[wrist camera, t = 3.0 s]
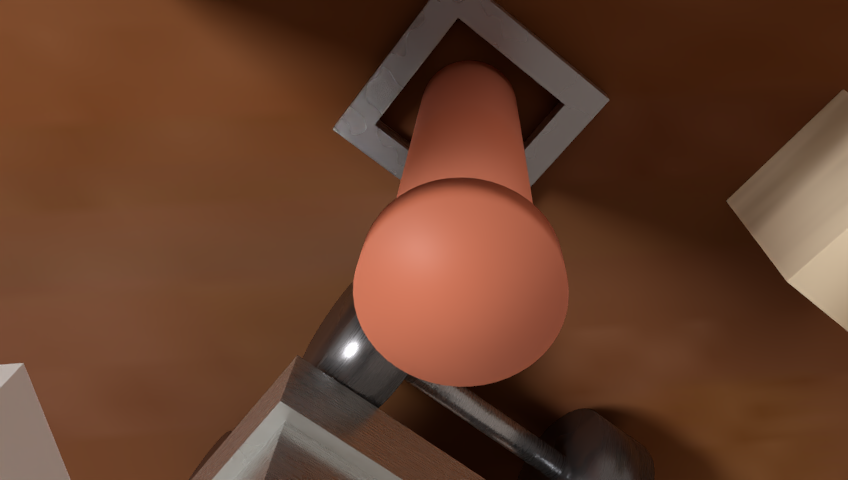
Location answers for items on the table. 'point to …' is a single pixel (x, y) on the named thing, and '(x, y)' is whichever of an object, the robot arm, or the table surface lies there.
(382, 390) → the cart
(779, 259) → the block
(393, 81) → the collar
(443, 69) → the pin
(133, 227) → the table surface
